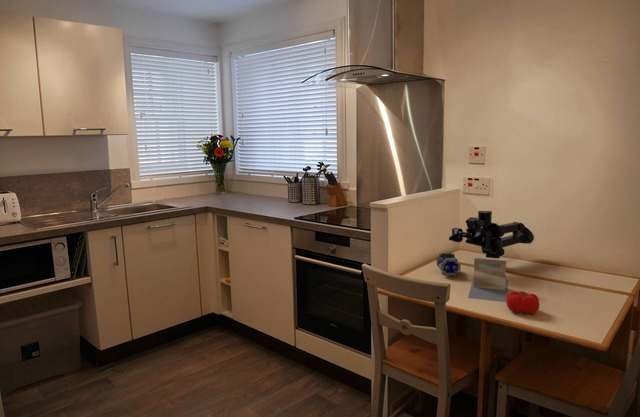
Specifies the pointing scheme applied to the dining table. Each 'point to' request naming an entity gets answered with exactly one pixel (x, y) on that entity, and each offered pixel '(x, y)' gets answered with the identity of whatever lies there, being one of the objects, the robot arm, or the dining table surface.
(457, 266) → the toy
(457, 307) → the dining table surface
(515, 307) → the tomato
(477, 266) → the board
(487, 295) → the mat
